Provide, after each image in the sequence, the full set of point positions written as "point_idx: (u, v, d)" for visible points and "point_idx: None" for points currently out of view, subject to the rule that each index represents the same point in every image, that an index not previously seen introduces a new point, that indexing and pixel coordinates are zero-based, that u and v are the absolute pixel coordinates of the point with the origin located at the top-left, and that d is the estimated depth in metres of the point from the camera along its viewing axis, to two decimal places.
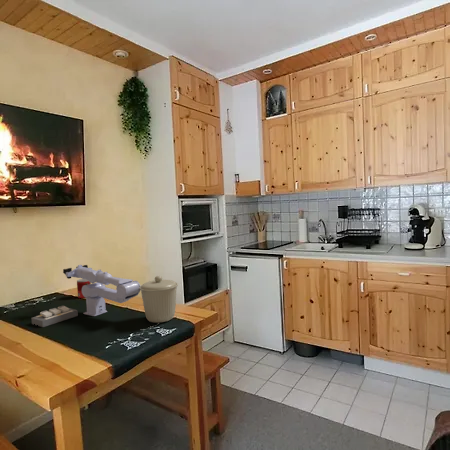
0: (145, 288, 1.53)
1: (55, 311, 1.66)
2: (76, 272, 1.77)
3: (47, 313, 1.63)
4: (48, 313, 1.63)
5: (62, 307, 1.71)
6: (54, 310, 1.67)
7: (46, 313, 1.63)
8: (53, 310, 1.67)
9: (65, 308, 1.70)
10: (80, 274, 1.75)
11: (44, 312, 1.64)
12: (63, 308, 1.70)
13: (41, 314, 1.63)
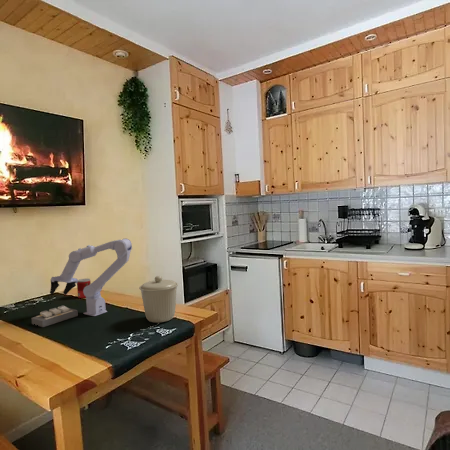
0: (145, 288, 1.53)
1: (55, 311, 1.66)
2: (60, 276, 1.73)
3: (47, 313, 1.63)
4: (48, 313, 1.63)
5: (62, 307, 1.71)
6: (54, 310, 1.67)
7: (46, 313, 1.63)
8: (53, 310, 1.67)
9: (65, 308, 1.70)
10: (64, 270, 1.73)
11: (44, 312, 1.64)
12: (63, 308, 1.70)
13: (41, 314, 1.63)
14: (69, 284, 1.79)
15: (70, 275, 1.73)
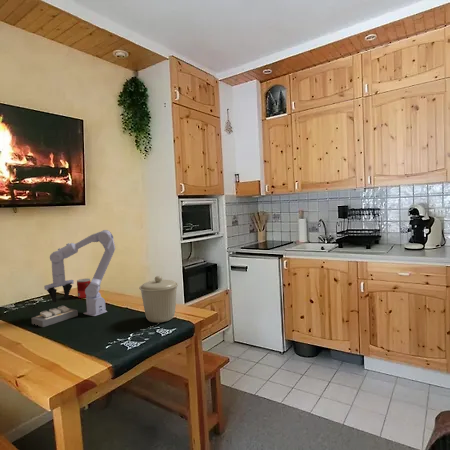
0: (145, 288, 1.53)
1: (55, 311, 1.66)
2: (53, 282, 1.69)
3: (47, 313, 1.63)
4: (48, 313, 1.63)
5: (62, 307, 1.71)
6: (54, 310, 1.67)
7: (46, 313, 1.63)
8: (53, 310, 1.67)
9: (65, 308, 1.70)
10: (53, 275, 1.69)
11: (44, 312, 1.64)
12: (63, 308, 1.70)
13: (41, 314, 1.63)
14: (65, 287, 1.74)
15: (61, 276, 1.69)
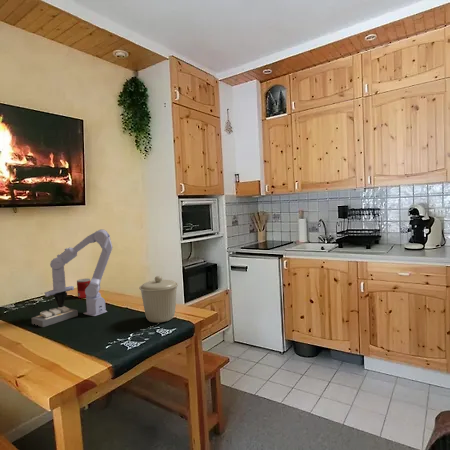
0: (145, 288, 1.53)
1: (55, 311, 1.66)
2: (53, 289, 1.70)
3: (47, 313, 1.63)
4: (48, 313, 1.63)
5: (62, 307, 1.71)
6: (54, 310, 1.67)
7: (46, 313, 1.63)
8: (53, 310, 1.67)
9: (65, 308, 1.70)
10: (53, 282, 1.69)
11: (44, 312, 1.64)
12: (63, 308, 1.70)
13: (41, 314, 1.63)
14: None
15: (61, 283, 1.70)
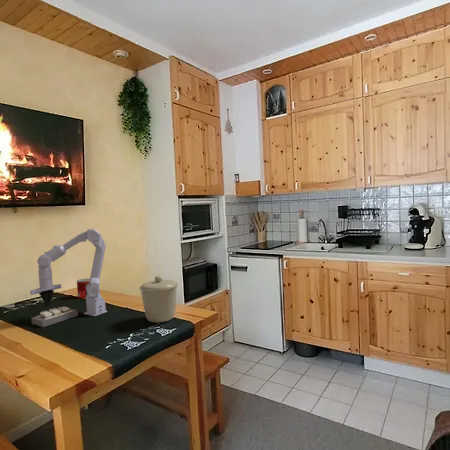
0: (145, 288, 1.53)
1: (55, 311, 1.66)
2: None
3: (47, 313, 1.63)
4: (48, 313, 1.63)
5: (62, 307, 1.71)
6: (54, 310, 1.67)
7: (46, 313, 1.63)
8: (53, 310, 1.67)
9: (65, 308, 1.70)
10: (39, 280, 1.63)
11: (44, 312, 1.64)
12: (63, 308, 1.70)
13: (41, 314, 1.63)
14: None
15: (48, 281, 1.64)
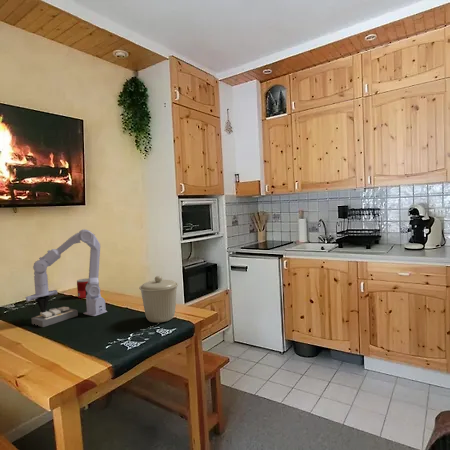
0: (145, 288, 1.53)
1: (55, 311, 1.66)
2: (35, 293, 1.62)
3: (47, 313, 1.63)
4: (48, 313, 1.63)
5: (62, 307, 1.71)
6: (54, 310, 1.67)
7: (46, 313, 1.63)
8: (53, 310, 1.67)
9: (65, 307, 1.70)
10: (35, 286, 1.61)
11: (44, 312, 1.64)
12: (62, 308, 1.70)
13: (41, 314, 1.63)
14: None
15: (43, 287, 1.62)
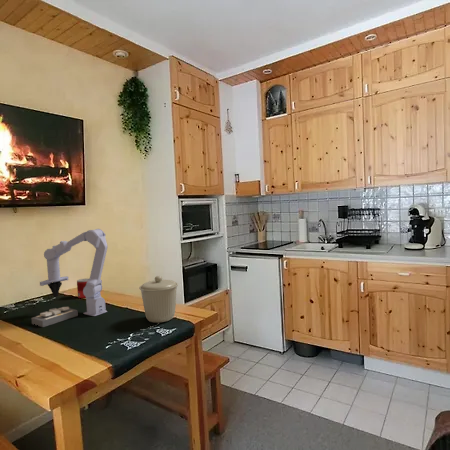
0: (145, 288, 1.53)
1: (55, 311, 1.66)
2: (48, 278, 1.74)
3: (47, 313, 1.63)
4: (48, 312, 1.63)
5: (62, 307, 1.71)
6: (54, 310, 1.67)
7: (46, 313, 1.63)
8: (53, 310, 1.67)
9: (65, 307, 1.70)
10: (48, 272, 1.74)
11: (44, 312, 1.64)
12: (62, 308, 1.70)
13: (41, 315, 1.63)
14: None
15: (56, 273, 1.74)
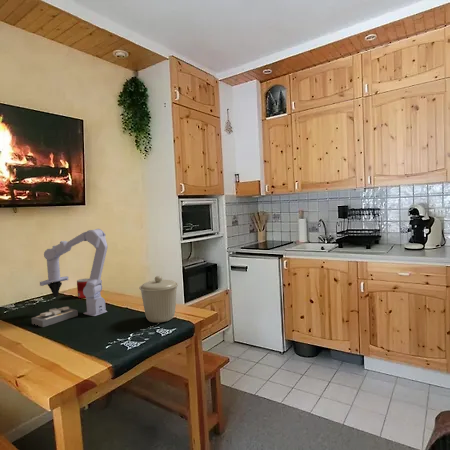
0: (145, 288, 1.53)
1: (55, 311, 1.66)
2: (48, 278, 1.74)
3: (47, 312, 1.63)
4: (48, 312, 1.63)
5: (62, 307, 1.71)
6: (54, 310, 1.67)
7: (46, 312, 1.63)
8: (53, 310, 1.67)
9: (65, 307, 1.70)
10: (48, 272, 1.74)
11: (44, 312, 1.64)
12: (62, 308, 1.70)
13: (41, 315, 1.63)
14: None
15: (56, 273, 1.74)
